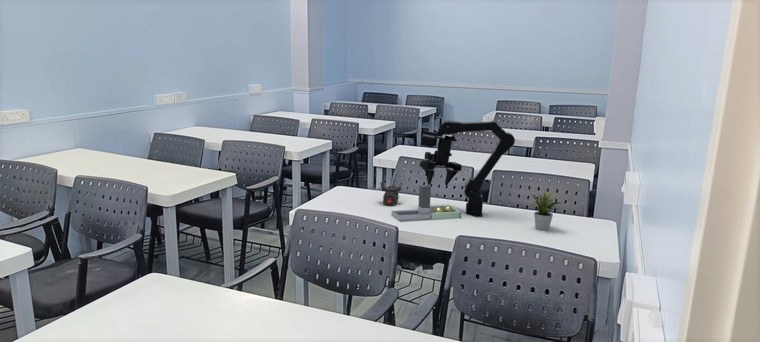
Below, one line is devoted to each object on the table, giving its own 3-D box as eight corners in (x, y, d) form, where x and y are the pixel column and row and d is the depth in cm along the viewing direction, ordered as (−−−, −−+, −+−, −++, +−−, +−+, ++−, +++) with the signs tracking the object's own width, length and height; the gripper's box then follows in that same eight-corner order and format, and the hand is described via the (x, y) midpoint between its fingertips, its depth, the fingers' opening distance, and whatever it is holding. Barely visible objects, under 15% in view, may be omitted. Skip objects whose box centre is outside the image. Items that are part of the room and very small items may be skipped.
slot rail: (448, 212, 236) (448, 206, 236) (460, 219, 225) (461, 213, 225) (390, 215, 228) (390, 210, 228) (400, 223, 217) (400, 217, 216)
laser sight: (402, 197, 263) (403, 177, 261) (400, 208, 241) (400, 186, 239) (383, 196, 264) (383, 176, 262) (378, 207, 242) (378, 185, 240)
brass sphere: (440, 204, 226) (432, 207, 225) (445, 211, 224) (436, 215, 223) (440, 208, 229) (431, 212, 228) (444, 216, 227) (436, 219, 226)
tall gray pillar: (426, 214, 229) (427, 184, 226) (430, 217, 225) (431, 186, 223) (417, 215, 228) (418, 185, 225) (421, 217, 224) (422, 187, 221)
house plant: (533, 235, 206) (537, 193, 203) (515, 225, 219) (518, 185, 216) (566, 233, 210) (570, 192, 207) (546, 223, 223) (549, 184, 220)
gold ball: (451, 206, 232) (444, 203, 230) (455, 208, 228) (448, 205, 227) (447, 214, 232) (440, 211, 231) (451, 217, 228) (444, 214, 227)
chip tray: (448, 210, 236) (448, 205, 236) (460, 218, 225) (461, 212, 225) (421, 212, 232) (421, 206, 232) (432, 219, 221) (432, 213, 221)
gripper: (450, 147, 242) (443, 180, 245) (415, 144, 233) (409, 179, 236) (465, 152, 233) (458, 187, 236) (430, 150, 224) (423, 186, 227)
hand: (437, 184), depth 234 cm, fingers open, 9 cm apart
